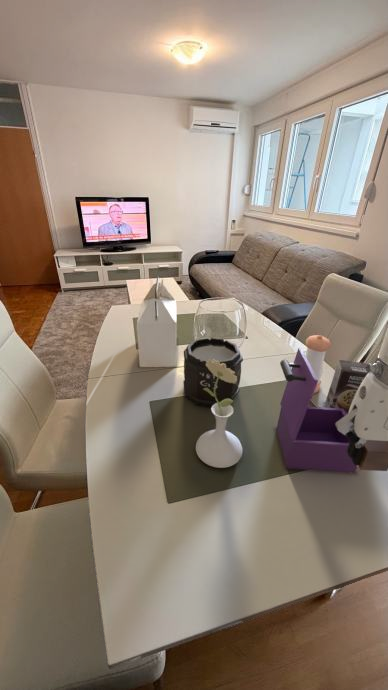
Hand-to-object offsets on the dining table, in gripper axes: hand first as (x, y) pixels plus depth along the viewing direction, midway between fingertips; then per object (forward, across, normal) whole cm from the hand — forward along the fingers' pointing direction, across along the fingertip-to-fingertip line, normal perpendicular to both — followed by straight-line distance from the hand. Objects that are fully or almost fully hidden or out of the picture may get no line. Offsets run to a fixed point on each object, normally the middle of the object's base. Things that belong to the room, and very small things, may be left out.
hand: (368, 458), depth 52 cm
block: (0, 0, 0) cm, 0 cm away
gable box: (+16, -48, +62) cm, 80 cm away
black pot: (+17, -28, +39) cm, 51 cm away
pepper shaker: (+17, +4, +44) cm, 47 cm away
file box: (+17, -2, +17) cm, 24 cm away
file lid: (-1, -8, +17) cm, 19 cm away
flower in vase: (+17, -26, +15) cm, 34 cm away
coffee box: (+17, +11, +32) cm, 38 cm away
